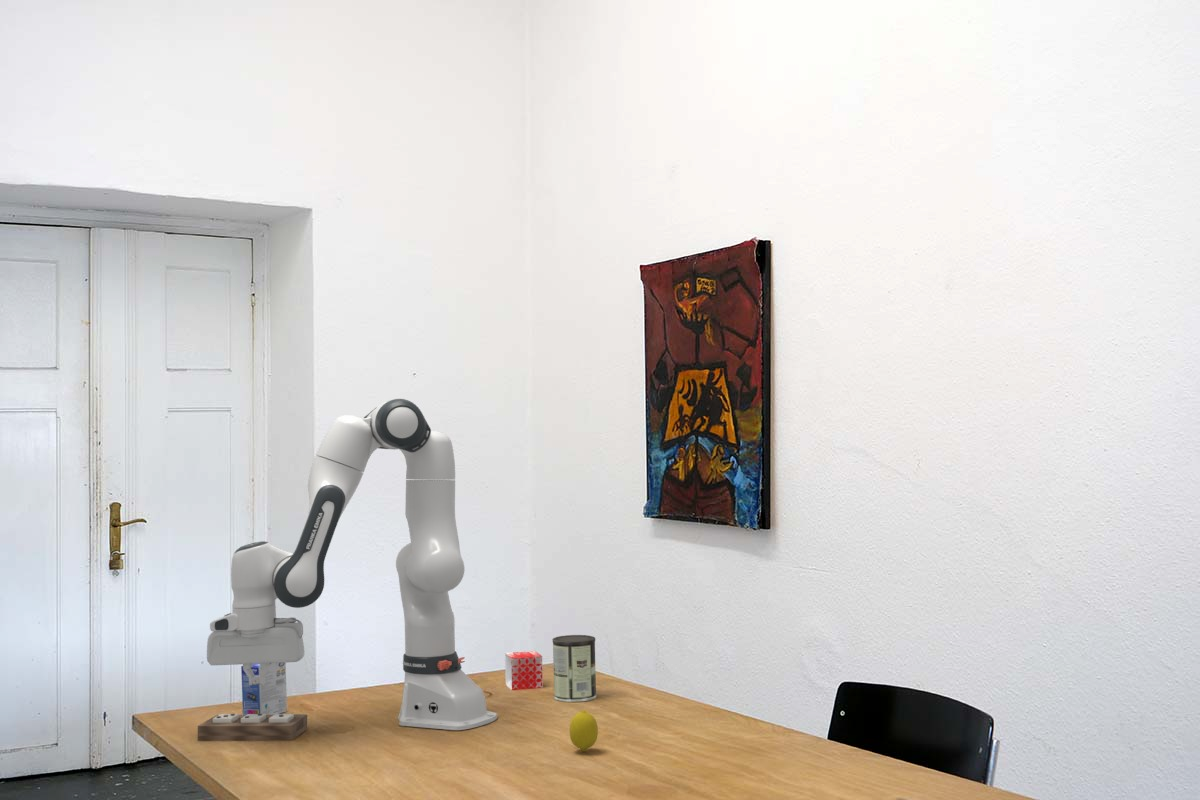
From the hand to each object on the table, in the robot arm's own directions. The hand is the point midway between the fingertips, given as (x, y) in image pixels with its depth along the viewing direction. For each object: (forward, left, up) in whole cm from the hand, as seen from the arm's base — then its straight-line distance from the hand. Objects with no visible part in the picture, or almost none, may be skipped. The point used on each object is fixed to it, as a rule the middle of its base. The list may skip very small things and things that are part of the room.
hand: (257, 684), depth 237 cm
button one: (-5, -2, -9) cm, 10 cm away
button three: (+6, +4, -9) cm, 11 cm away
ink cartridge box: (+12, -12, -11) cm, 20 cm away
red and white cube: (-21, -66, -11) cm, 70 cm away
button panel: (0, +1, -10) cm, 10 cm away
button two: (0, +1, -9) cm, 9 cm away
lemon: (-69, -22, -11) cm, 73 cm away
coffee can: (-40, -61, -11) cm, 74 cm away
